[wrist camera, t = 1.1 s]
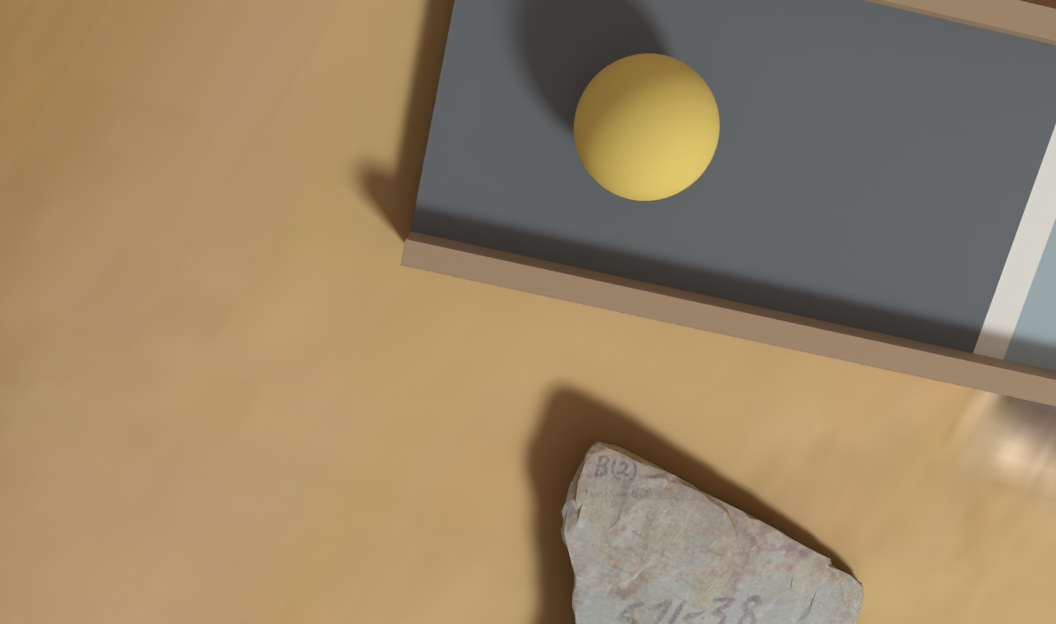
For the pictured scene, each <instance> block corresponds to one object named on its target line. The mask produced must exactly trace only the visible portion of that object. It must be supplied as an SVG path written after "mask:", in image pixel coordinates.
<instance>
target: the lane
mask: <svg viewBox="0 0 1056 624" xmlns="http://www.w3.org/2000/svg"><path fill="white" fill-rule="evenodd" d="M644 53H650V54H660V55H666V56H669V57H672V58H675V59H677V60H679V61H681V62H683V63H685V64H686V65H688V66H689V67H691V68H692V69H693V70H694V71H696V72H697V73H698V74H699V75H700V76H701V77H702V79H703V80H704V81H705V82H706V84H707V85H708V87H709V88H710V90H711V92H712V94H713V96H714V98H715V101H716V104H717V107H718V112H719V121H720V130H719V138H718V143H717V147H716V150H715V153H714V155H713V157H712V159H711V161H710V163H709V165H708V166H707V168H706V169H705V171H704V172H703V173H702V175H701V176H700V177H699V178H698V179H697V180H696V181H695V182H694V183H693V184H691V185H690V186H689V187H687V188H686V189H684V190H683V191H681V192H679V193H677V194H675V195H672V196H669V197H667V198H663V199H659V200H651V201H638V200H631V199H627V198H624V197H620V196H618V195H616V194H614V193H612V192H610V191H608V190H607V189H605V188H604V187H602V186H601V185H600V184H599V183H597V182H596V181H595V180H594V178H593V177H592V176H591V175H590V174H589V173H588V171H587V170H586V169H585V167H584V165H583V163H582V162H581V160H580V157H579V155H578V152H577V149H576V145H575V139H574V119H575V113H576V109H577V106H578V103H579V100H580V98H581V96H582V94H583V92H584V90H585V89H586V87H587V85H588V84H589V83H590V82H591V80H592V79H593V78H594V77H595V76H596V75H597V74H598V73H599V72H600V71H601V70H603V69H604V68H605V67H607V66H608V65H610V64H612V63H613V62H615V61H617V60H620V59H622V58H625V57H628V56H632V55H636V54H644ZM401 265H402V266H407V267H412V268H416V269H421V270H426V271H430V272H435V273H440V274H444V275H449V276H454V277H458V278H463V279H467V280H472V281H477V282H481V283H486V284H491V285H495V286H500V287H505V288H509V289H514V290H519V291H523V292H528V293H533V294H537V295H542V296H547V297H551V298H556V299H560V300H565V301H570V302H574V303H579V304H584V305H588V306H593V307H598V308H602V309H607V310H612V311H616V312H621V313H626V314H630V315H635V316H639V317H644V318H649V319H653V320H658V321H663V322H667V323H672V324H677V325H681V326H686V327H691V328H695V329H700V330H705V331H709V332H714V333H718V334H723V335H728V336H732V337H737V338H742V339H746V340H751V341H756V342H760V343H765V344H770V345H774V346H779V347H784V348H788V349H793V350H797V351H802V352H807V353H811V354H816V355H821V356H825V357H830V358H835V359H839V360H844V361H849V362H853V363H858V364H863V365H867V366H872V367H876V368H881V369H886V370H890V371H895V372H900V373H904V374H909V375H914V376H918V377H923V378H928V379H932V380H937V381H942V382H946V383H951V384H956V385H960V386H965V387H969V388H974V389H979V390H983V391H988V392H993V393H997V394H1002V395H1007V396H1011V397H1016V398H1021V399H1025V400H1030V401H1035V402H1039V403H1044V404H1048V405H1053V406H1056V9H1054V8H1050V7H1046V6H1042V5H1037V4H1033V3H1029V2H1025V1H1020V0H454V5H453V11H452V16H451V21H450V26H449V32H448V37H447V42H446V47H445V53H444V58H443V63H442V68H441V74H440V79H439V84H438V89H437V95H436V100H435V105H434V110H433V116H432V121H431V126H430V131H429V137H428V142H427V147H426V152H425V158H424V163H423V168H422V173H421V179H420V184H419V189H418V194H417V200H416V205H415V210H414V215H413V221H412V226H411V231H410V233H409V234H408V236H407V238H406V239H405V244H404V250H403V255H402V260H401Z"/></svg>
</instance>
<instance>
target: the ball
mask: <svg viewBox="0 0 1056 624" xmlns="http://www.w3.org/2000/svg"><path fill="white" fill-rule="evenodd" d="M719 130H720V121H719V112H718V107H717V104H716V101H715V98H714V96H713V94H712V92H711V90H710V88H709V87H708V85H707V84H706V82H705V81H704V80H703V79H702V77H701V76H700V75H699V74H698V73H697V72H696V71H694V70H693V69H692V68H691V67H689V66H688V65H686V64H685V63H683V62H681V61H679V60H677V59H675V58H672V57H669V56H666V55H660V54H650V53H644V54H636V55H632V56H628V57H625V58H622V59H620V60H617V61H615V62H613V63H612V64H610V65H608V66H607V67H605V68H604V69H603V70H601V71H600V72H599V73H598V74H597V75H596V76H595V77H594V78H593V79H592V80H591V82H590V83H589V84H588V85H587V87H586V89H585V90H584V92H583V94H582V96H581V98H580V100H579V103H578V106H577V109H576V113H575V119H574V139H575V145H576V149H577V152H578V155H579V157H580V160H581V162H582V163H583V165H584V167H585V169H586V170H587V171H588V173H589V174H590V175H591V176H592V177H593V178H594V180H595V181H596V182H597V183H599V184H600V185H601V186H602V187H604V188H605V189H607V190H608V191H610V192H612V193H614V194H616V195H618V196H620V197H624V198H627V199H631V200H638V201H651V200H659V199H663V198H667V197H669V196H672V195H675V194H677V193H679V192H681V191H683V190H684V189H686V188H687V187H689V186H690V185H691V184H693V183H694V182H695V181H696V180H697V179H698V178H699V177H700V176H701V175H702V173H703V172H704V171H705V169H706V168H707V166H708V165H709V163H710V161H711V159H712V157H713V155H714V153H715V150H716V147H717V143H718V138H719Z"/></svg>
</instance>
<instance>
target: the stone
mask: <svg viewBox="0 0 1056 624" xmlns="http://www.w3.org/2000/svg"><path fill="white" fill-rule="evenodd" d="M585 452H586V451H585ZM562 515H563V526H562V528H561V529H560V531H561V535H562V540H563V542H564V544H565V545H566V547H567V548H568V552H569V555H570V559H571V563H572V567H573V572H574V584H573V593H572V608H573V611H574V614H575V624H857V618H858V612H859V610H860V608H861V606H862V601H863V596H864V593H863V586H862V583H861V582H859V581H858V580H857V579H855V578H854V577H852V576H851V575H849V574H847V573H845V572H843V571H841V570H840V569H838V568H836V567H834V566H833V565H832V563H831V559H830V558H828V557H826V556H824V555H822V554H820V553H818V552H817V551H815V550H813V549H811V548H809V547H807V546H805V545H803V544H801V543H799V542H797V541H795V540H793V539H791V538H790V537H788V536H786V535H785V534H784V533H783V532H782V531H779V530H778V529H776V528H774V527H772V526H770V525H768V524H766V523H764V522H763V521H761V520H759V519H757V518H755V517H753V516H751V515H749V514H747V513H746V512H744V511H742V510H740V509H738V508H736V507H734V506H732V505H730V504H728V503H726V502H724V501H722V500H720V499H718V498H716V497H714V496H712V495H710V494H708V493H706V492H704V491H702V490H700V489H698V488H696V487H695V486H693V485H692V484H690V483H688V482H686V481H685V480H683V479H681V478H679V477H677V476H675V475H673V474H671V473H669V472H667V471H665V470H664V469H662V468H660V467H659V466H657V465H655V464H653V463H651V462H649V461H647V460H646V459H644V458H642V457H640V456H638V455H636V454H634V453H632V452H630V451H628V450H627V449H625V448H623V447H620V446H617V445H614V444H607V443H604V442H599V441H598V442H596V443H594V444H593V445H592V446H591V447H590V448H589V449H588V450H587V452H586V455H585V457H584V459H583V461H582V462H581V464H580V465H579V467H578V469H577V472H576V474H575V476H574V478H573V480H572V482H571V483H570V486H569V489H568V493H567V498H566V503H565V505H564V507H563V509H562Z"/></svg>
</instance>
